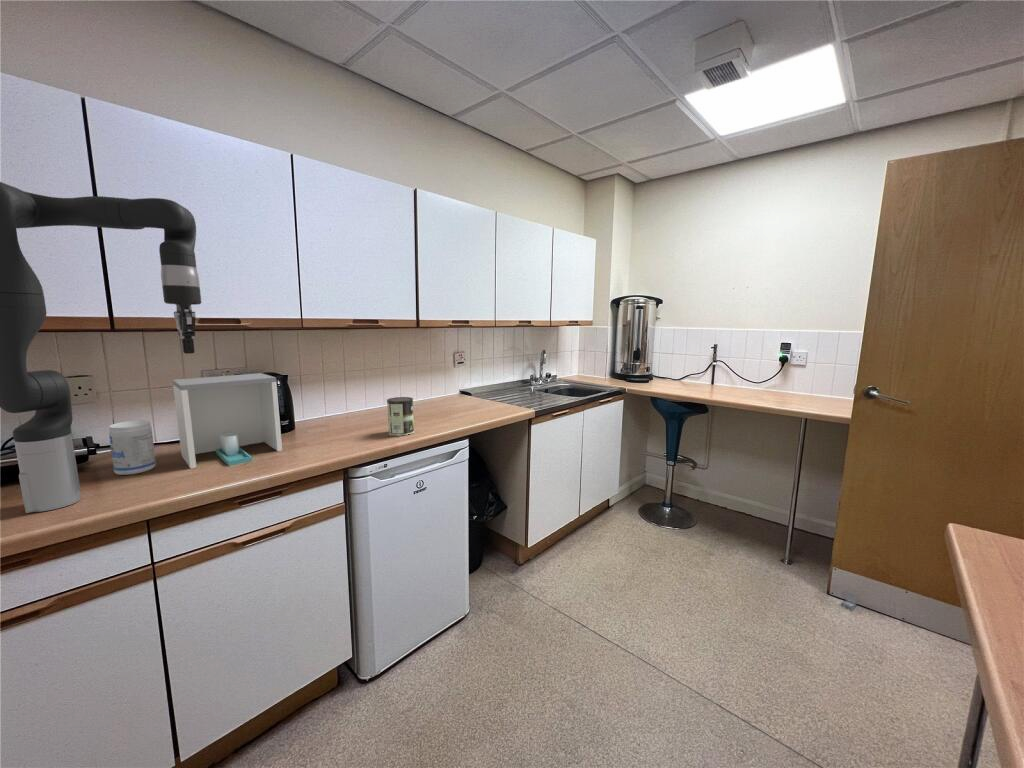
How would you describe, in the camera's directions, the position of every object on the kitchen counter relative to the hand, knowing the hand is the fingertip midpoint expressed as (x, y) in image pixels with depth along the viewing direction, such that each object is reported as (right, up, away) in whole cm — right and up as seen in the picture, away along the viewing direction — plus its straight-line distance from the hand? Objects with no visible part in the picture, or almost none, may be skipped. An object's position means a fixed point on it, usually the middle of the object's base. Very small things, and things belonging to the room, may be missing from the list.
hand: (188, 353), depth 108 cm
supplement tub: (-31, -35, +19) cm, 50 cm away
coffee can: (+39, -28, +62) cm, 78 cm away
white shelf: (-13, -32, +36) cm, 50 cm away
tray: (-9, -33, +31) cm, 47 cm away
